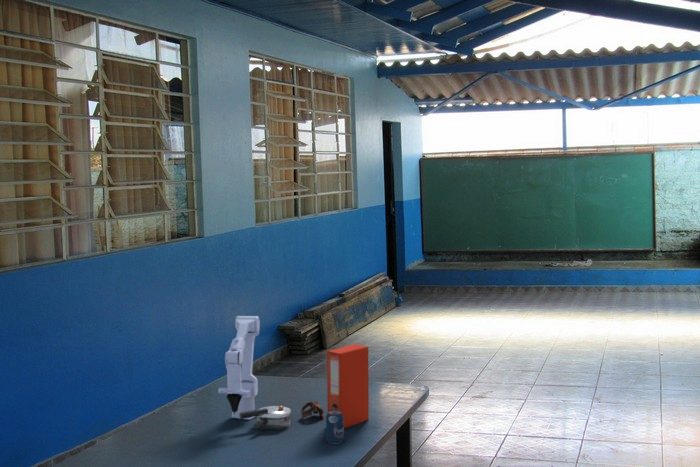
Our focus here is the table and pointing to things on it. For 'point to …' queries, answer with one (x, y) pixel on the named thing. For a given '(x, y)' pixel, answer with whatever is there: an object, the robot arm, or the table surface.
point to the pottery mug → (312, 409)
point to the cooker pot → (272, 423)
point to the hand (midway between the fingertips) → (235, 411)
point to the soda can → (335, 427)
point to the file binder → (348, 383)
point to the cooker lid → (268, 412)
